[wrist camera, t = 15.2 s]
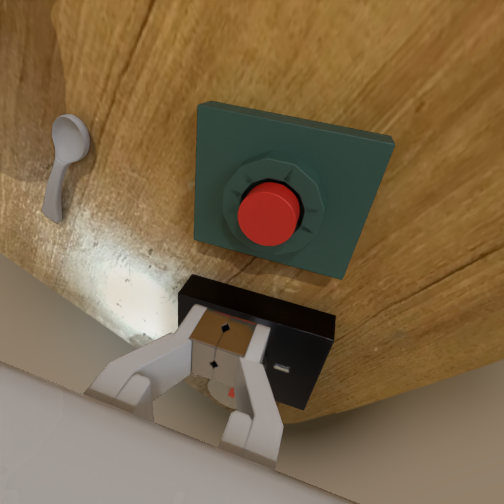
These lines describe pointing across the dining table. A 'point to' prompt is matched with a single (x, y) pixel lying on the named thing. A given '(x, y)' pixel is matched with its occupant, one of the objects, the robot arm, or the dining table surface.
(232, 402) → the hob knob
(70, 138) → the spoon
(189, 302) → the hob panel
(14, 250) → the dining table surface
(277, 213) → the button
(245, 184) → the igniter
